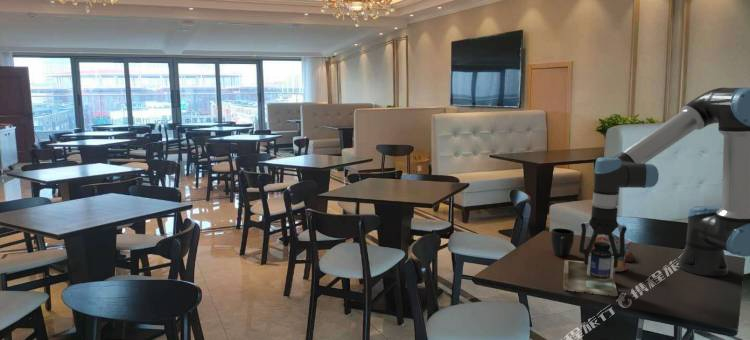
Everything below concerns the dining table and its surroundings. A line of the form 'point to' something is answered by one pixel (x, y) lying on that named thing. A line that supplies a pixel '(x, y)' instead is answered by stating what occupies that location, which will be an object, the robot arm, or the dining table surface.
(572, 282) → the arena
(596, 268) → the pill bottle
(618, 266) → the mug
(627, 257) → the pastry
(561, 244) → the mug
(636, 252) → the dining table surface
